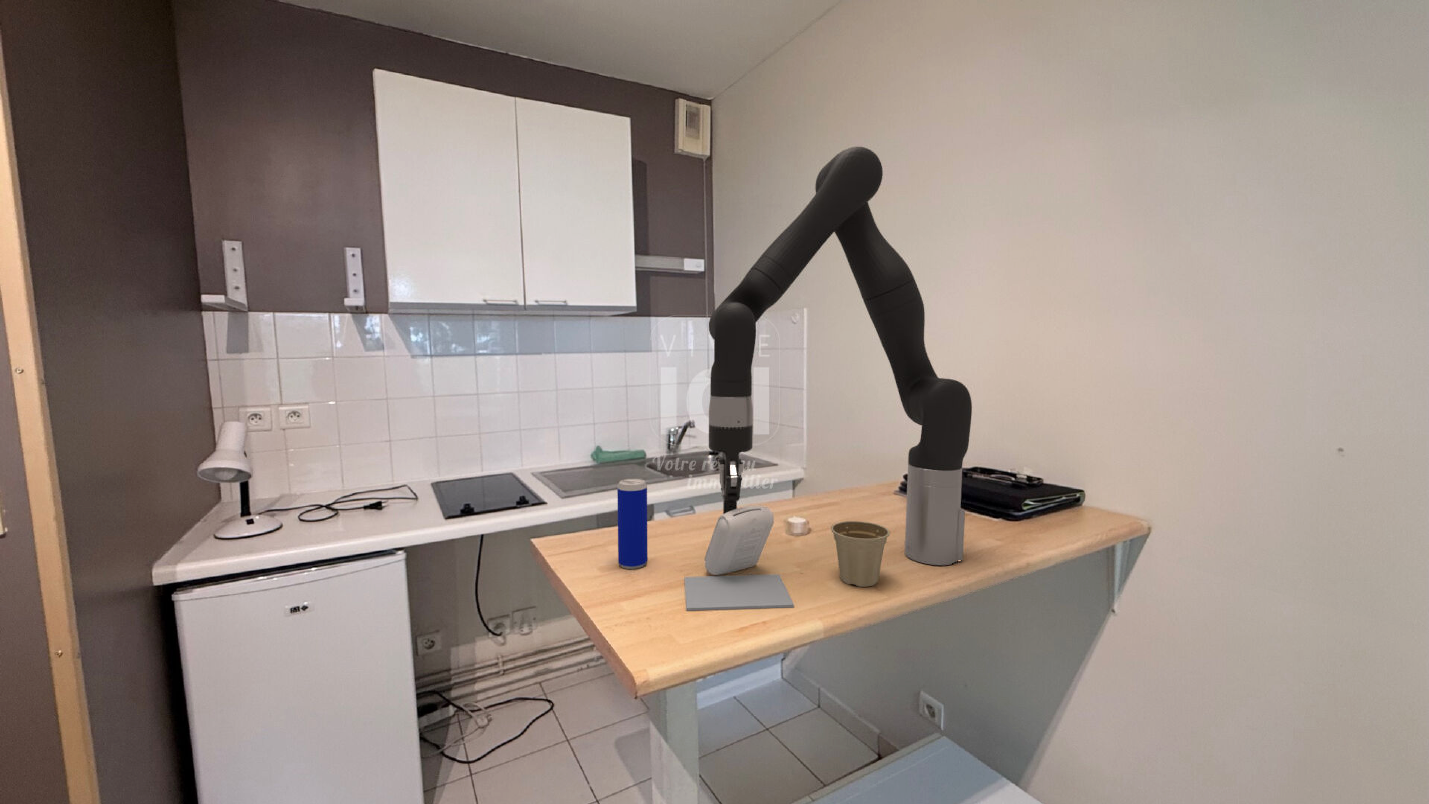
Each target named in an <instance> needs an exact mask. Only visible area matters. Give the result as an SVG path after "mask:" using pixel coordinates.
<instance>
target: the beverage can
mask: <svg viewBox="0 0 1429 804" xmlns="http://www.w3.org/2000/svg"><path fill="white" fill-rule="evenodd" d="M616 488H617V489H616V490H617V491H616V492H617V555H618V556H617V560H618V561H617V563H618V564H619V565H620V567H621V568H623V569H627V570H637V569H641V568H643V567H644V566H646V564H647V563H648V559H649V558H648V485H647V482H646V480H644V479H642V478H625V479H621V480H620V481H619V482H618V485H617V487H616Z"/></svg>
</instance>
